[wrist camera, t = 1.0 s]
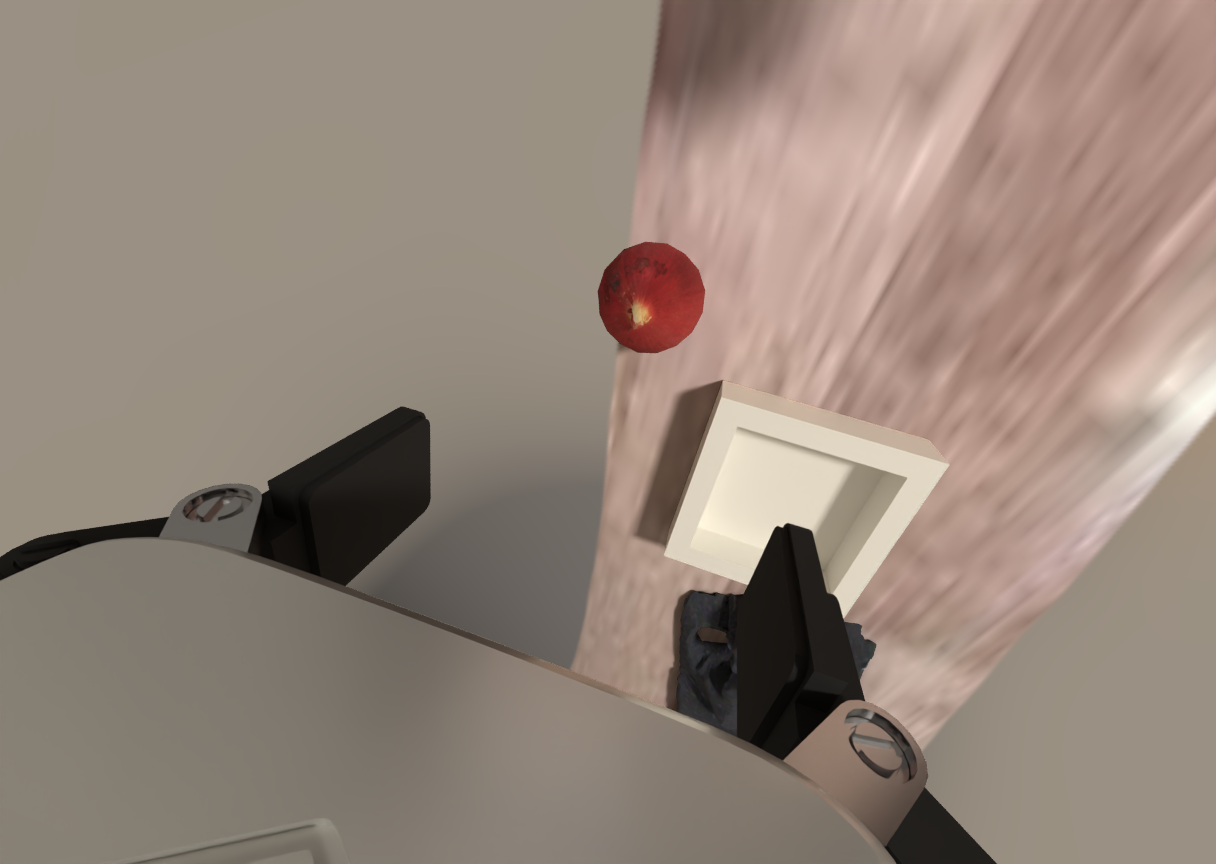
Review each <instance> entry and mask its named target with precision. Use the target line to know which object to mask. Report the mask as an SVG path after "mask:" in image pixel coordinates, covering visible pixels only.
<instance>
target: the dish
mask: <svg viewBox="0 0 1216 864" xmlns="http://www.w3.org/2000/svg"><path fill="white" fill-rule="evenodd" d="M949 465H950V464H949V463H948V462H947V461H946V460H945V458H944V457H943V456H942V455H941V454H940V453H939V451H938V450H937V449H936V448H935V447H934V446H933V444H932V443H931V442H930V441H929V440H928V439H925V438H921V437H918V436H915V435H911V434H908V433H904V432H901V431H897V430H894V429H890V428H887V427H883V426H880V425H877V424H873V423H870V422H866V421H863V420H859V419H856V418H852V417H849V416H845V415H842V414H839V413H835V412H832V411H828V410H825V409H821V408H818V407H814V406H811V405H807V404H804V403H800V402H797V401H794V400H790V399H787V398H783V397H780V396H776V395H773V394H769V393H766V392H762V391H759V390H756V389H752V388H749V387H745V386H742V385H738V384H735V383H731V382H728V381H724V380H723V381H722V384H721V387H720V390H719V392H718V395H717V398H716V401H715V404H714V406H713V409H712V412H711V415H710V418H709V420H708V423H707V426H706V429H705V431H704V434H703V437H702V440H701V443H700V445H699V448H698V451H697V454H696V457H695V459H694V462H693V465H692V468H691V471H690V473H689V476H688V479H687V482H686V484H685V487H684V490H683V493H682V496H681V498H680V501H679V504H678V507H677V510H676V512H675V515H674V518H673V521H672V524H671V526H670V529H669V534H668V538H667V543H666V547H665V552H664V556H666V557H669V558H672V559H675V560H677V561H680V562H683V563H686V564H689V565H692V566H695V567H698V568H700V569H703V570H706V571H709V572H712V573H715V574H718V575H721V576H723V577H726V578H729V579H732V580H735V581H738V582H741V583H744V584H746V585H748V584H749V582H750V580H751V577H752V575H753V573H754V571H755V569H756V567H757V565H758V562H759V560H760V558H761V556H762V554H763V552H764V549H765V547H766V545H767V543H768V541H769V539H770V537H771V534H772V532H773V530H774V528H775V527H776V526H779V527H783V526H784V525H785V524H786V523H790V524H793V525H797V526H800V527H803V528H807V529H810V530H812V532H813V536H814V540H815V544H816V548H817V552H818V557H819V561H820V565H821V569H822V573H823V578H824V582H825V586H826V590H827V593H830V594H833V595H835V596H836V597H837V599H838V601H839V604H840V608H841V612H842V615H843V618H844V617H845V616H846V614H847V613H848V611H849V610H850V608H851V607H852V605H853V604H854V603H855V601H856V600H857V598H858V597H859V595H860V594H861V592H862V591H863V589H864V588H865V587H866V585H867V584H868V582H869V581H870V579H871V578H872V576H873V575H874V574H875V572H876V571H877V569H878V568H879V566H880V565H881V563H882V562H883V560H884V559H885V558H886V556H887V555H888V553H889V552H890V550H891V549H892V547H893V546H894V544H895V543H896V542H897V540H898V539H899V537H900V536H901V534H902V533H903V531H904V530H905V529H906V527H907V526H908V524H909V523H910V521H911V520H912V518H913V517H914V515H915V514H916V513H917V511H918V510H919V508H920V507H921V505H922V504H923V502H924V501H925V499H926V498H927V497H928V495H929V494H930V492H931V491H932V489H933V488H934V486H935V485H936V484H937V482H938V481H939V479H940V478H941V476H942V475H943V473H944V472H945V470H946V469H947V468H948V466H949Z"/></svg>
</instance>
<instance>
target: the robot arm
mask: <svg viewBox="0 0 1216 864" xmlns="http://www.w3.org/2000/svg"><path fill="white" fill-rule="evenodd" d="M268 486H269V490H268V491H267V492H265V493H263V494H261V492H260V491H259V490H258V489H257V488H254V487H252V486H250V485H243V484H223V485H218V486H212V487H209V488H205V489H202V490H199V491H197V492H195V493H192V494H190V495H188V496H187V497H185V498H184V499H182V500H181V501H180V502H178V504H177V505H176V506H175V507H174V509H173V510H172V512H171V514H170V516H169V517H164V518H157V519H150V520H144V521H137V522H130V523H124V524H116V525H110V526H103V527H96V528H89V529H83V530H76V531H69V532H63V533H58V534H53V535H47V536H43V537H39V538H36V539H33V540H31V541H29V542H27V543H25V544H23V545H21V546H19V547H16V548H14V549H12V550H10V551H9V552H7V553H6V554H4V555H3V556H1V557H0V864H996V862H995V861H994V860H993V859H992V858H991V857H990V856H989V855H988V854H987V853H986V852H985V851H984V850H983V849H982V848H981V847H980V846H979V845H978V843H976V841H975V840H974V839H973V838H972V837H971V836H970V835H969V834H968V833H967V832H966V831H965V830H964V829H963V827H962V826H961V825H960V824H959V823H958V822H957V821H956V820H955V819H954V818H953V817H952V816H951V815H950V814H949V813H948V812H947V811H946V809H945V808H944V807H943V806H942V805H941V804H940V803H939V802H938V801H937V800H936V799H935V798H934V797H933V796H932V795H931V794H930V793H929V791H928V790H927V789H926V788H925V785H926V782H927V779H928V771H927V764H926V761H925V758H924V756H923V754H922V751H921V749H920V747H919V746H918V744H917V743H916V741H915V740H914V738H913V737H912V735H911V734H910V733H909V732H908V730H907V729H906V728H905V727H904V726H903V725H902V724H901V723H900V722H899V721H898V720H897V719H895V718H894V717H893V716H892V715H890V714H889V713H888V712H886V711H885V710H883V709H881V708H880V707H878V706H876V705H874V704H872V703H869V702H865V699H864V695H863V691H862V688H861V684H860V680H859V676H858V672H857V669H856V665H855V661H854V657H853V653H852V650H851V646H850V642H849V638H848V634H847V631H846V627H845V623H844V619H843V615H842V612H841V608H840V604H839V601H838V599H837V597H836V596H835V595H833V594H830V593H827V590H826V586H825V582H824V578H823V573H822V569H821V565H820V561H819V557H818V552H817V548H816V544H815V540H814V536H813V532H812V530H810V529H807V528H803V527H800V526H797V525H793V524H790V523H786V524H785V525H784V526H783V527H779V526H776V527H775V528H774V530H773V532H772V534H771V537H770V539H769V541H768V543H767V545H766V547H765V549H764V552H763V554H762V556H761V558H760V560H759V562H758V565H757V567H756V569H755V571H754V573H753V575H752V577H751V580H750V582H749V584H748V586H747V588H746V590H745V592H744V595H743V597H742V599H741V601H740V604H739V607H738V612H737V737H735V736H733V735H731V734H729V733H727V732H724V731H722V730H720V729H718V728H715V727H713V726H711V725H708V724H706V723H703V722H701V721H698V720H696V719H693V718H691V717H688V716H686V715H683V714H681V713H678V712H676V711H673V710H671V709H668V708H666V707H663V706H661V705H658V704H656V703H653V702H651V701H648V700H646V699H643V698H641V697H638V696H636V695H633V694H630V693H628V692H625V691H623V690H620V689H617V688H615V687H612V686H610V685H607V684H604V683H602V682H599V681H596V680H594V679H591V678H589V677H586V676H583V675H581V674H578V673H575V672H573V671H570V670H568V669H565V668H562V667H560V666H557V665H554V664H552V663H549V662H547V661H544V660H541V659H539V658H536V657H534V656H531V655H528V654H525V653H523V652H520V651H517V650H515V649H512V648H510V647H507V646H504V645H502V644H499V643H496V642H494V641H491V640H488V639H486V638H483V637H480V636H478V635H475V634H472V633H470V632H467V631H464V630H462V629H459V628H456V627H454V626H451V625H448V624H445V623H443V622H440V621H438V620H435V619H432V618H430V617H427V616H424V615H422V614H419V613H416V612H414V611H411V610H408V609H406V608H403V607H400V606H397V605H395V604H392V603H389V602H387V601H384V600H381V599H378V598H376V597H373V596H370V595H367V594H365V593H362V592H359V591H357V590H354V589H351V588H349V587H346V585H347V584H348V583H349V582H350V581H351V580H352V579H353V578H354V577H355V576H356V575H358V574H359V573H360V572H361V571H362V570H363V569H364V568H365V567H366V566H367V565H368V564H369V563H370V562H371V561H372V560H373V559H375V558H376V557H377V556H378V555H379V554H380V553H381V552H382V551H383V550H384V549H385V548H386V547H387V546H388V545H389V544H391V543H392V542H393V541H394V540H395V539H396V538H397V537H398V536H399V535H400V534H401V533H402V532H403V531H404V530H405V529H406V528H408V527H409V526H410V525H411V524H412V523H413V522H414V521H415V520H416V519H417V518H418V517H419V516H420V515H421V514H422V513H424V511H425V510H426V509H427V507H428V505H429V503H430V498H431V497H430V423H429V421H428V420H427V419H426V417H425V415H424V413H422V412H419V411H416V410H412V409H409V408H406V407H400V408H397V409H395V410H394V411H392V412H390V413H388V414H387V415H385V416H383V417H381V418H380V419H378V420H376V421H374V422H372V423H371V424H369V425H367V426H365V427H363V428H362V429H360V430H358V431H356V432H355V433H353V434H351V435H349V436H347V437H346V438H344V439H342V440H340V441H339V442H337V443H335V444H333V445H332V446H330V447H328V448H326V449H324V450H323V451H321V452H319V453H317V454H316V455H314V456H312V457H310V458H309V459H307V460H305V461H303V462H301V463H299V464H298V465H296V466H294V467H292V468H290V469H289V470H287V471H285V472H283V473H282V474H280V475H278V476H276V477H274V478H273V479H271V480H269V481H268Z"/></svg>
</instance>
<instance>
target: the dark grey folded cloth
mask: <svg viewBox="0 0 1216 864" xmlns="http://www.w3.org/2000/svg"><path fill="white" fill-rule="evenodd" d="M743 595H744V594H743ZM743 595H741V596H735V595H733V594H731V596H730V597H728V596H726V595H721V594H718V593H715V594H714V596H712V595H709V594H705V593H702V594H700V593H698V592H693V593H692V594H691V595H690V596H689V597H688V598H687V599H686V600H685V603H684V612H683V614H682V616H681V625H682V627H681V636H680V661H679V662H680V664H681V665H680V672H681V673H680V675H679V676H678V678H677V680H678V687H677V700H678V704H679V705H678V708H677V711H678V713H681V714H683V715H686V716H688V717H691V718H693V719H696V720H698V721H701V722H703V723H706V724H708V725H711V726H713V727H715V728H718V729H720V730H722V731H724V732H727V733H729V734H731V735H733V736H735V737H737V612H738V607H739V604H740V601H741V599H742V597H743ZM727 601H729V602H727ZM844 623H845V627H846V631H847V634H848V638H849V642H850V646H851V650H852V653H853V657H854V661H855V665H856V669H857V672H858V676H859V680H860V678H861V676H862V673H863V671H864V669H865V668H866V667H867V665H868V663H869V660H870V659H872V657H873V655H874V651H875V648H876V644H875V643H874V642H872V641H870V640H864V637H863V636H862V635H861V628H862V626H861V625H860V624H855V623H848V622H844ZM703 627H709V628H712V629H717V630H720V631H724V632H726V634H727V635H726V637H727V639H728V643H717V642H709V641H702V640H701V639H700V638H699V636H698V634H697V631H698V630H699V629H700V628H703Z"/></svg>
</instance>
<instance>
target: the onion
mask: <svg viewBox="0 0 1216 864" xmlns="http://www.w3.org/2000/svg"><path fill="white" fill-rule="evenodd" d="M704 296H705V289H704V286H703V282H702V279H701V276H700V273H699V270H698V269H697V267H696V266H695V265H694V264H693V263H692V262H691V260H690V259H689V258H688V257H687V256H686V255H685V254H684V253H682V252H681V251H679V250H677V249H676V248H674V247H672V246H670V245H669V244H665V243H653V242H644V243H641V244H638V245H635V246H632V247H629V248H627V249H624V250H623V251H622V252H621V253H620V254H619V255H618V256H617V257H616V258H615V259H614V260H613V261H612V262H611V263H610V265H609V266H608V267H607V268H606V269H605V271H604V274H603V277H602V280H601V283H600V286H599V289H598V297H599V310H600V311H599V312H600V316H601V318H602V320H603V323H604V325H605V327H606V329H607V331H608V332H609V333H610V334H611V335H612V336H613V337H614V338H615V339H616V340H617V341H618V342H619V343H620V344H622V345H624V346H626V347H628V348H630V349H632V350H634V351H636V352H638V353H658V352H661V351H664V350H666V349H669V348H672V347H674V346H676V345H678V344H679V343H680V342H681V341H682V340H684V339H685V338H686V337H687V336H688V335H689V334H691V333H692V331H693V330H694V328H695V326H696V324H697V322H698V320H699V318H700V317H701V315H702V312H703V304H704Z"/></svg>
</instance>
